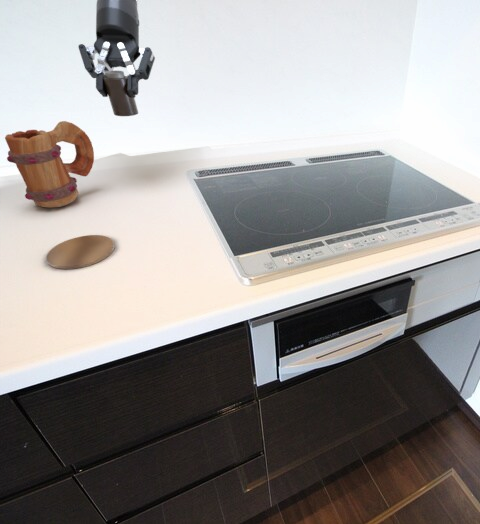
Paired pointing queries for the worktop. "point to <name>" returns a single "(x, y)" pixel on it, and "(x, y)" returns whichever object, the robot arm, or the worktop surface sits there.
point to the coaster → (80, 252)
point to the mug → (50, 162)
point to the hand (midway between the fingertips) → (117, 94)
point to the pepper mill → (119, 94)
